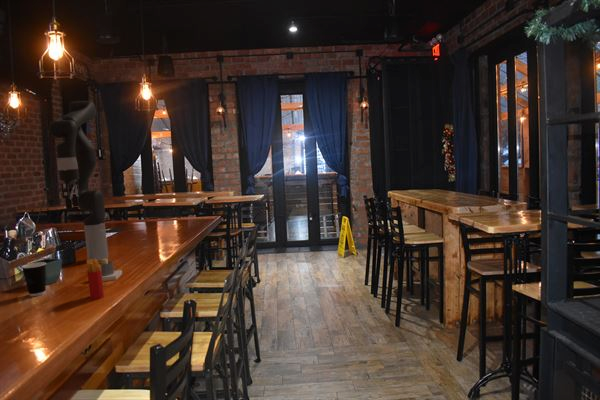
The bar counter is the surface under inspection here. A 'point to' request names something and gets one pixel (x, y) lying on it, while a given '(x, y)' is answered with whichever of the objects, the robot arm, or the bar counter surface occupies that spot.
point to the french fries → (95, 279)
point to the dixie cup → (35, 278)
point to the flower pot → (51, 269)
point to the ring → (107, 268)
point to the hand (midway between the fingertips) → (72, 207)
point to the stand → (112, 276)
